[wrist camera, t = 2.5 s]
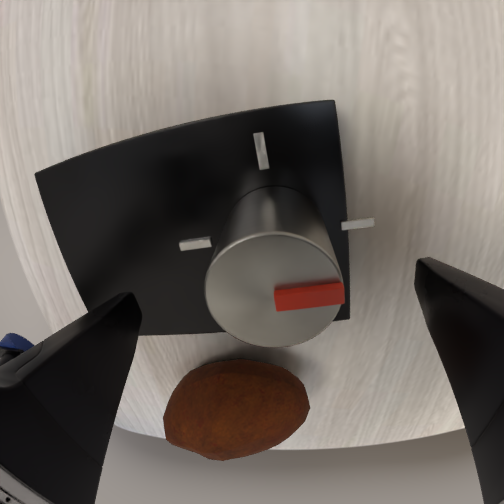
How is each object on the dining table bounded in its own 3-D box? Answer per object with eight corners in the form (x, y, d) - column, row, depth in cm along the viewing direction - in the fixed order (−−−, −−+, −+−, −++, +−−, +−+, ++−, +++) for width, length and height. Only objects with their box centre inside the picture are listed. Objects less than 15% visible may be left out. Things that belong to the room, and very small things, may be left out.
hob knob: (236, 280, 14) (219, 359, 10) (217, 194, 12) (184, 248, 8) (327, 270, 13) (345, 347, 9) (319, 179, 12) (343, 227, 7)
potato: (159, 340, 20) (127, 418, 14) (303, 329, 18) (309, 420, 12) (191, 403, 23) (174, 471, 17) (310, 397, 21) (314, 473, 16)
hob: (116, 311, 19) (99, 337, 16) (61, 161, 14) (31, 174, 12) (361, 288, 17) (372, 318, 14) (348, 98, 12) (364, 97, 10)
